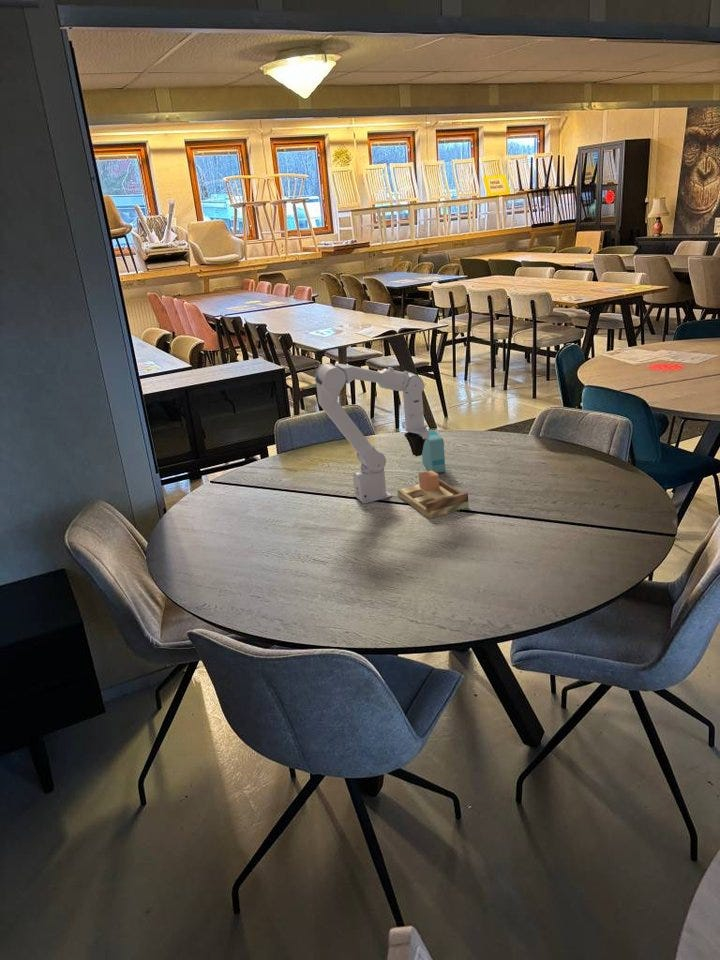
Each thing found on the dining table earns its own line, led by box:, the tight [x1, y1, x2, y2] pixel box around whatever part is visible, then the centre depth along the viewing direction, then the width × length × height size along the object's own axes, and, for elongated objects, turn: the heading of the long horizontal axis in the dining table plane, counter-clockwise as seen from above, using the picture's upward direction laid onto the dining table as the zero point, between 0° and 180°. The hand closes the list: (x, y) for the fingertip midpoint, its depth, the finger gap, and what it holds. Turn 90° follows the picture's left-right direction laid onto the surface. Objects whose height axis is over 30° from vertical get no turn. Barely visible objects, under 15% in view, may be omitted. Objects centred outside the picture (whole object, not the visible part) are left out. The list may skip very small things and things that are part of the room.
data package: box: [421, 429, 446, 474], centre depth 223 cm, size 12×4×12 cm, turn 11°
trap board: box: [397, 478, 469, 519], centre depth 199 cm, size 13×20×4 cm, turn 22°
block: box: [418, 470, 440, 492], centre depth 204 cm, size 4×4×4 cm
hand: (417, 455), depth 208 cm, fingers closed
